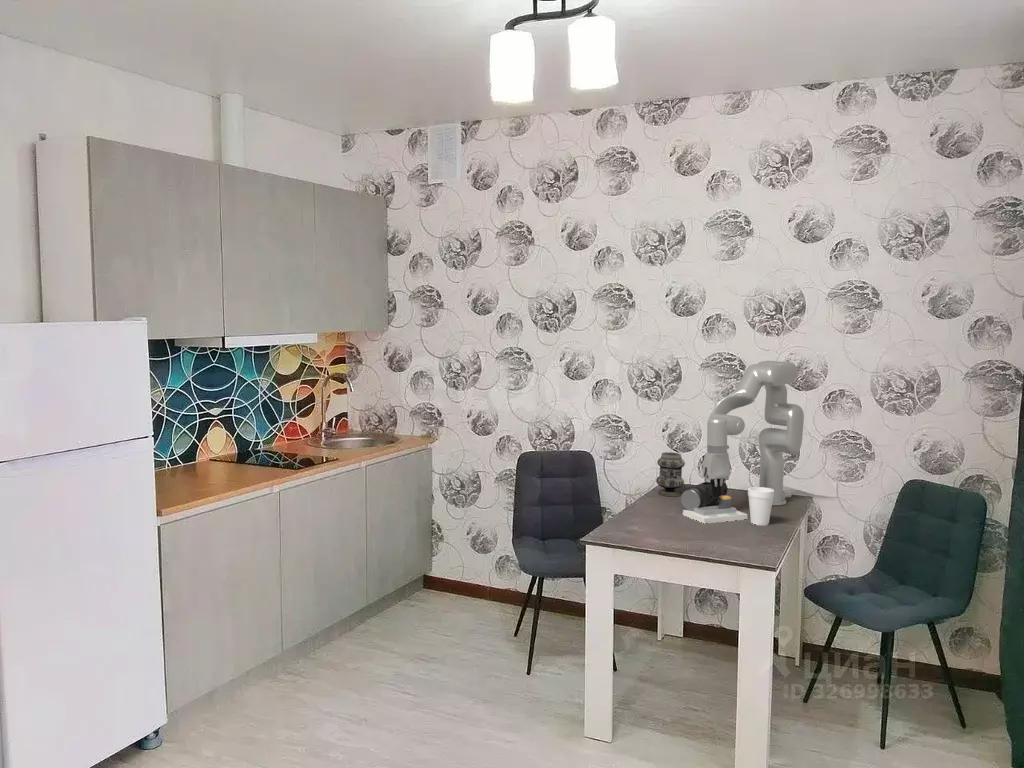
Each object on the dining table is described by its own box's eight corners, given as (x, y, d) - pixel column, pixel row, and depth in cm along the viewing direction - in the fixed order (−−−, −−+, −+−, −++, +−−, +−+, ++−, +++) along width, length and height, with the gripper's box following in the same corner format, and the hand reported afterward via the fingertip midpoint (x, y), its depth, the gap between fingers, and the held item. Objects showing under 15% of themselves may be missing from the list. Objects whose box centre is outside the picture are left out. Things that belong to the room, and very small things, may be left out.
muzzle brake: (727, 503, 333) (728, 478, 332) (701, 516, 311) (702, 489, 310) (706, 500, 339) (706, 475, 338) (678, 512, 316) (679, 486, 315)
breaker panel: (724, 511, 322) (725, 502, 322) (747, 519, 309) (747, 510, 309) (682, 515, 314) (683, 506, 314) (704, 523, 301) (704, 514, 301)
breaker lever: (725, 509, 315) (725, 495, 315) (730, 511, 312) (731, 497, 312) (718, 510, 314) (719, 495, 314) (724, 512, 311) (724, 497, 311)
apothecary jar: (686, 497, 346) (688, 456, 344) (658, 497, 345) (660, 455, 344) (680, 491, 358) (681, 451, 356) (653, 490, 357) (654, 451, 356)
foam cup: (772, 521, 307) (773, 487, 306) (773, 527, 298) (774, 493, 297) (746, 519, 309) (747, 486, 308) (746, 525, 300) (748, 491, 299)
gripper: (726, 446, 317) (726, 491, 319) (695, 449, 311) (694, 495, 313) (739, 449, 310) (738, 495, 312) (706, 452, 304) (706, 500, 306)
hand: (716, 495), depth 312 cm, fingers closed
